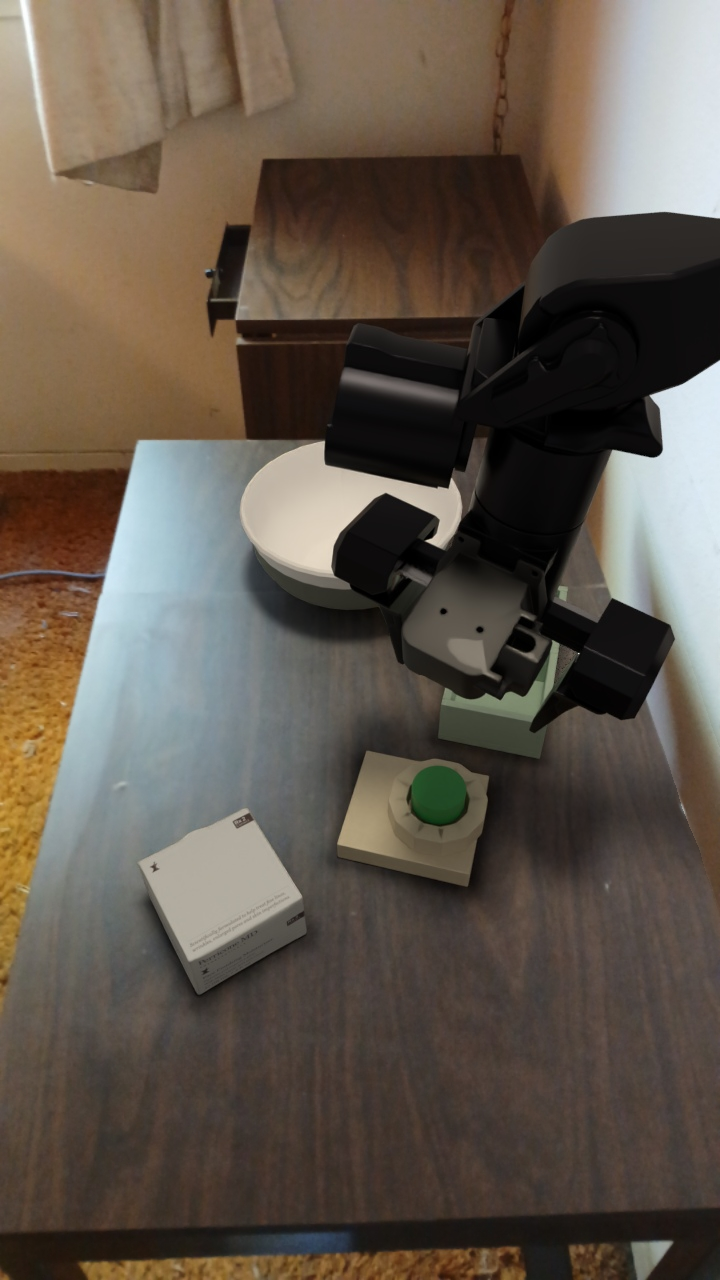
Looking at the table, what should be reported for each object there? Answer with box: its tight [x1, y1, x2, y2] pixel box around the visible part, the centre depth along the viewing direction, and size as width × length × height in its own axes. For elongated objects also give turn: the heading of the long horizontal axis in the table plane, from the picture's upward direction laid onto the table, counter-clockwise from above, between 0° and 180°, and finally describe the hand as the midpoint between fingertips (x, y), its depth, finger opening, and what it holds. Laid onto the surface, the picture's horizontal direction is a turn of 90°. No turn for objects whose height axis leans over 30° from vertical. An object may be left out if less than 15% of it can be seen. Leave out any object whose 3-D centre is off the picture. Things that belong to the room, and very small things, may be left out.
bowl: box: [239, 440, 463, 611], centre depth 77 cm, size 19×19×8 cm
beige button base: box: [336, 750, 490, 888], centre depth 61 cm, size 9×8×4 cm
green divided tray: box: [437, 585, 569, 760], centre depth 70 cm, size 15×8×4 cm, turn 165°
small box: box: [136, 807, 308, 996], centre depth 56 cm, size 8×8×5 cm
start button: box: [411, 765, 466, 825], centre depth 59 cm, size 4×4×2 cm
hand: (467, 692), depth 56 cm, fingers open, 9 cm apart
